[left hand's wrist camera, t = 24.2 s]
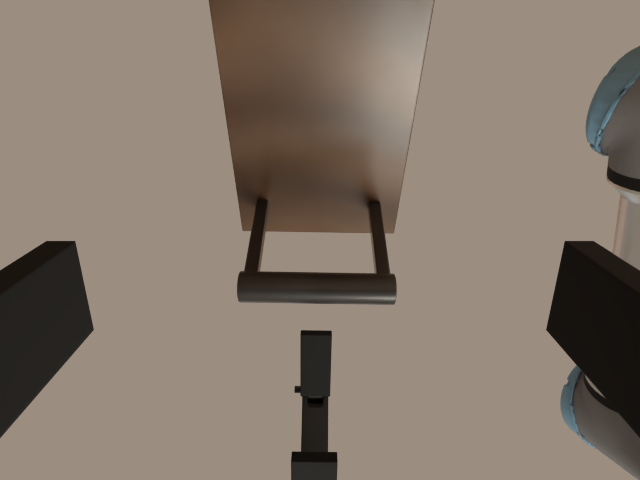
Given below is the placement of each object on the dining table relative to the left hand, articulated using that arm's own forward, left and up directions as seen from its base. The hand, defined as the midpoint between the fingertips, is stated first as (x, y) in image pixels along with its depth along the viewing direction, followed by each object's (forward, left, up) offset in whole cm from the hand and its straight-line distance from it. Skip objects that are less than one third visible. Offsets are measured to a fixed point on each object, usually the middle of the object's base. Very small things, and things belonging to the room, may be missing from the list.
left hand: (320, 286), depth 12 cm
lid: (+11, -9, -3) cm, 14 cm away
